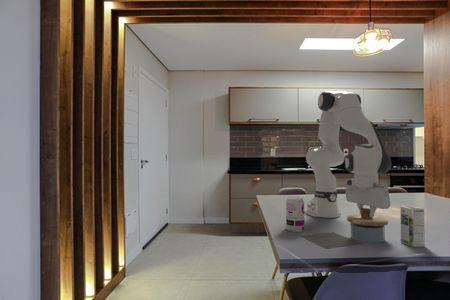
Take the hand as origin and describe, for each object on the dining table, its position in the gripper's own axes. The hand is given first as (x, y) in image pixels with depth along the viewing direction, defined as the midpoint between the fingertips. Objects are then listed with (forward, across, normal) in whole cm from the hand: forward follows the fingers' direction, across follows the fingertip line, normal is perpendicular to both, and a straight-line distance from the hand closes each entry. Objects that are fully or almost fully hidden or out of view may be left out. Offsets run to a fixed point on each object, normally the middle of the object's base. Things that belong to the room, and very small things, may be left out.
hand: (366, 215), depth 113 cm
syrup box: (+10, -11, -11) cm, 18 cm away
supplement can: (+10, +21, +21) cm, 31 cm away
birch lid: (+2, 0, 0) cm, 2 cm away
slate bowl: (+10, 0, 0) cm, 10 cm away
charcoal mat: (+10, +3, +16) cm, 19 cm away
